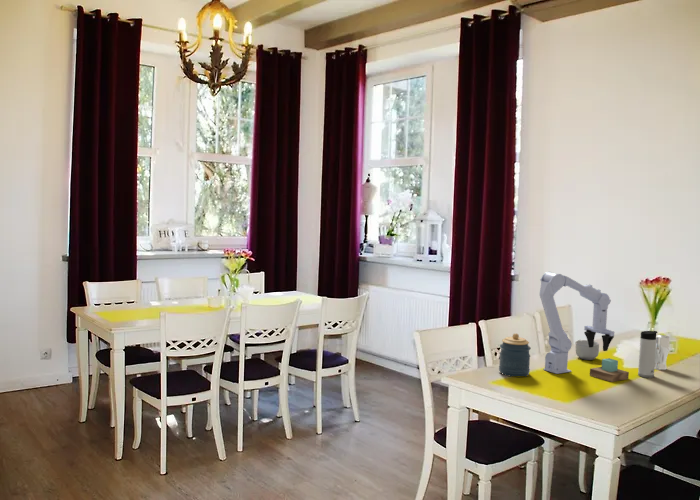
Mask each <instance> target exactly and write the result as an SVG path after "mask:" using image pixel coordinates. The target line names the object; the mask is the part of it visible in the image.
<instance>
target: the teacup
mask: <svg viewBox="0 0 700 500" xmlns="http://www.w3.org/2000/svg"><path fill="white" fill-rule="evenodd" d="M599 348H600V342H598V341H595V340H594V345H593V347H589V345H588V340H587V339H586V340H585V339H577V340H576V341H575V355H576V356H577V357H578V358H579V359H580V360H585V361H592V360H595V359H596V358H597V357H598V356H599V354H600V353H599V352H600V349H599Z"/></svg>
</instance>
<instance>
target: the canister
mask: <svg viewBox="0 0 700 500" xmlns="http://www.w3.org/2000/svg"><path fill="white" fill-rule="evenodd" d="M501 342H502V343H501V344H499V348H500V352H499V364H498V365H499V366H498V372H499V371H500V372H501V373H503V374H506V375H510V376H509V377H511V376H525V377H528V376H529V374H530V372H531V371H530V370H531V369H530V362H531V359H530V358H531V354H530V350H531V346H530V345H529V344H530V341H528V340H527V339H526V338H523V337H520V336H519V334H518V333H513V334H512V336H506V337H505V338H503V339H502V340H501ZM500 372H499V373H500ZM501 373H500V374H501ZM503 374H502V375H503ZM506 375H505V376H506ZM527 375H528V376H527Z"/></svg>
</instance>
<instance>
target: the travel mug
mask: <svg viewBox="0 0 700 500" xmlns="http://www.w3.org/2000/svg"><path fill="white" fill-rule="evenodd" d="M657 334H658V331H657V330H643V331H641V332H640V339H639V351H638V352H639V355H638V372H637V376H639V377H641V378H645V379H652V378H654V377H655V369H654V366H655V351H656V335H657Z"/></svg>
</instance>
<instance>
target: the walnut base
mask: <svg viewBox="0 0 700 500" xmlns="http://www.w3.org/2000/svg"><path fill="white" fill-rule="evenodd" d="M629 374H630V373H629V371H627V370H622V369H619V368H618V369H617V371H614V372H608V371H605V370H602V366H599V367H591V368H590V369H589V376H590V377H594V378H597V379H600V380H604V381H606V382H607V381H608V382H610V383H614V382H619V381H624V380H628V379H629Z"/></svg>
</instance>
